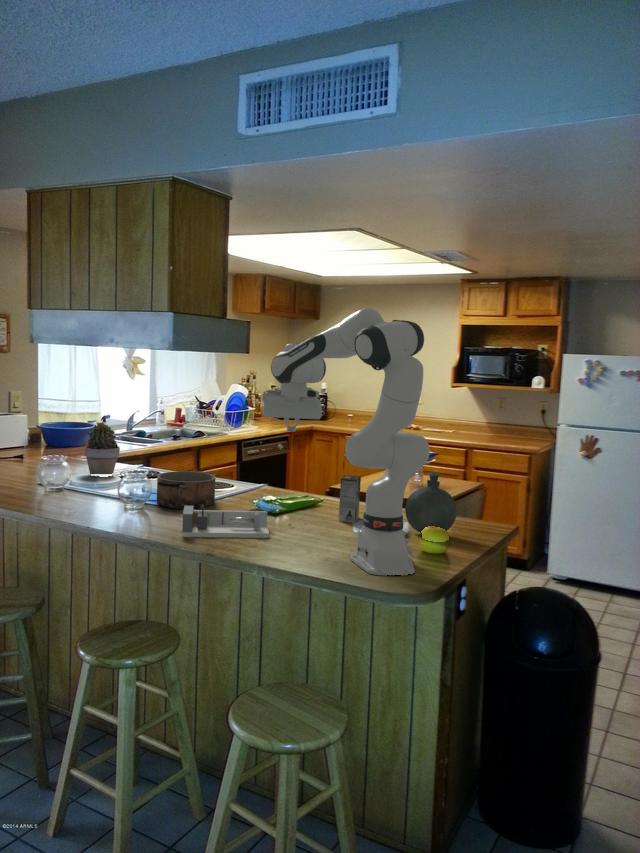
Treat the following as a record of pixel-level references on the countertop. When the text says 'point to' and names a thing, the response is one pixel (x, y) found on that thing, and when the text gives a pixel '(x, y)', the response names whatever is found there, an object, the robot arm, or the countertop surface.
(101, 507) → the countertop surface
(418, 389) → the robot arm
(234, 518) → the plunger
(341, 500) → the coffee box
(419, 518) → the flask
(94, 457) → the potted plant
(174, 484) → the cooking pot
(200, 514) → the needle rider
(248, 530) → the gauge bed
